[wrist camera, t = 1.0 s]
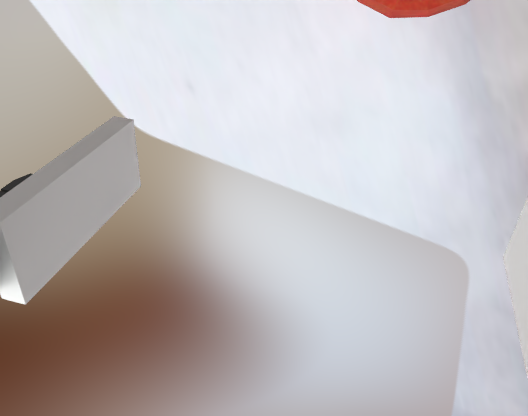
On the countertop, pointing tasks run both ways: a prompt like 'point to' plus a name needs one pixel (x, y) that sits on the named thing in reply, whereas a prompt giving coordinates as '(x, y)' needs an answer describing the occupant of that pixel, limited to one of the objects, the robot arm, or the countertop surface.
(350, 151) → the countertop surface
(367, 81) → the countertop surface
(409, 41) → the countertop surface
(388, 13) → the apple
